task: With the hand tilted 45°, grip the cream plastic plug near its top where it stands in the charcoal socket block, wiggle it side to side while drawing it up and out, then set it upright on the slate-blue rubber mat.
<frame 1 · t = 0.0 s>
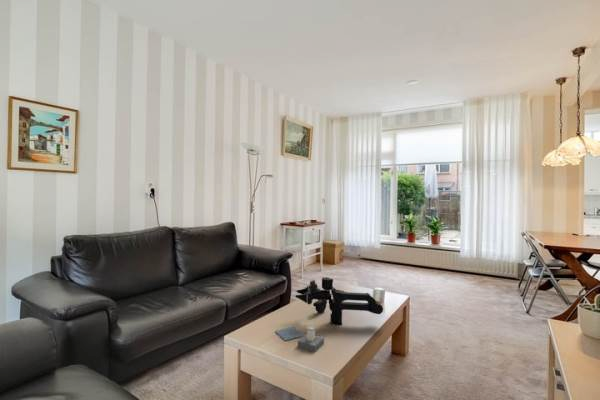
hand: (296, 293, 185), 17 cm above the table, tool horizontal, fingers open, 9 cm apart
socket block: (310, 345, 155), on the table
plug: (311, 336, 154), in the socket block
mat: (289, 334, 166), on the table
controller: (320, 313, 198), on the table
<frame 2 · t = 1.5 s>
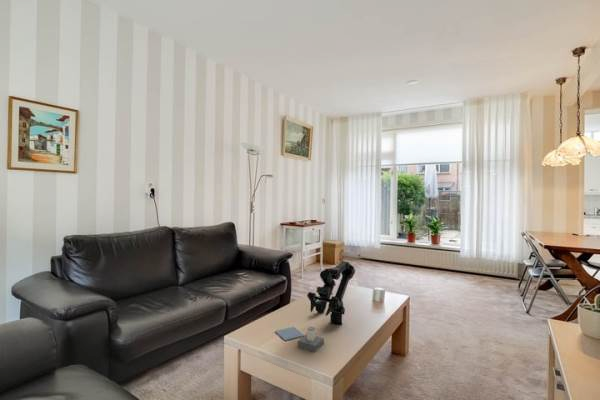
hand: (318, 313, 161), 14 cm above the table, tool tilted 45°, fingers open, 9 cm apart
nothing on the table moved.
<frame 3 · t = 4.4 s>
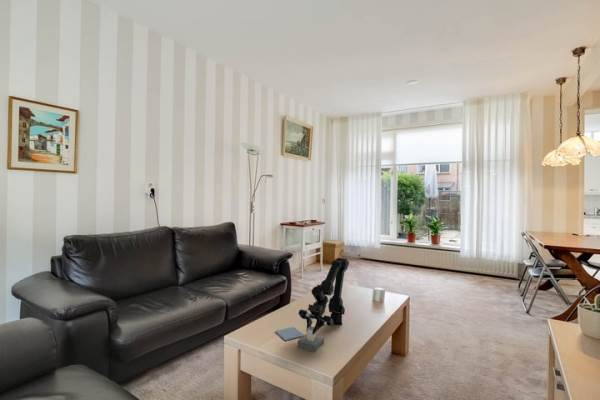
hand: (309, 333, 153), 7 cm above the table, tool tilted 45°, fingers closed on plug, 3 cm apart
plug: (311, 336, 154), in the socket block, touching gripper
everything else where it was.
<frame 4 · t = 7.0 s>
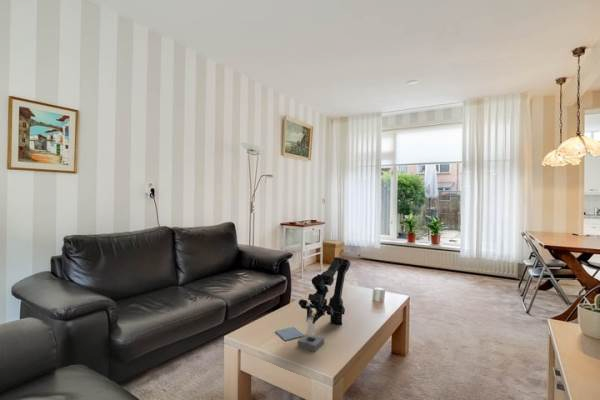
hand: (310, 322, 153), 12 cm above the table, tool tilted 45°, fingers closed on plug, 3 cm apart
plug: (311, 325, 154), point 10 cm above the table, touching gripper
everything else where it was.
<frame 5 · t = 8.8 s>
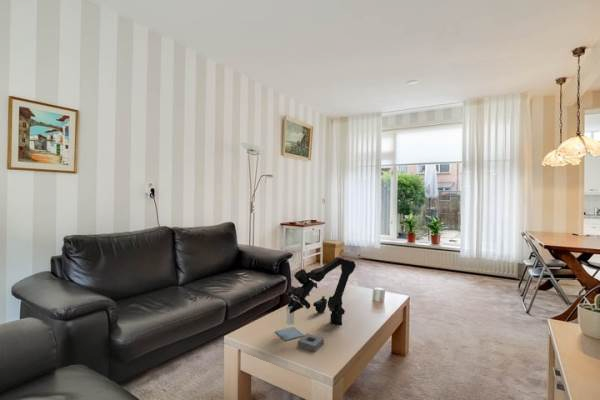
hand: (288, 311, 165), 13 cm above the table, tool tilted 45°, fingers closed on plug, 3 cm apart
plug: (290, 315, 166), point 10 cm above the table, touching gripper
everything else where it was.
when the fingers open (9 cm above the table, at t = 9.9 s): plug drops 1 cm, resting on mat.
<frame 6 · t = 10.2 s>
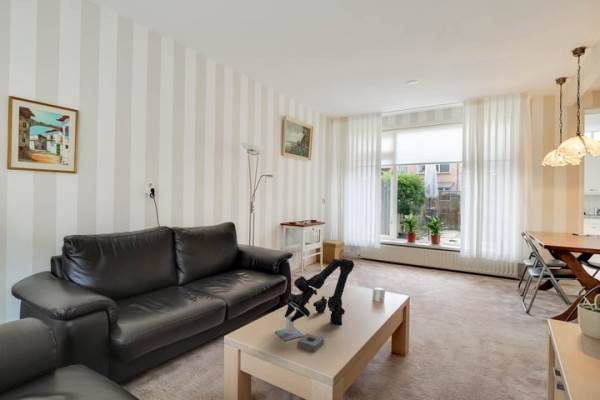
hand: (288, 319, 165), 9 cm above the table, tool tilted 45°, fingers open, 6 cm apart
plug: (290, 324, 166), on the mat, point 5 cm above the table
everything else where it was.
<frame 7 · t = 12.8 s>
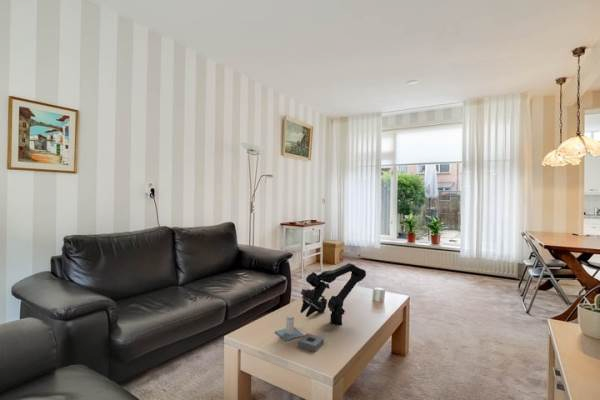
hand: (303, 314, 172), 9 cm above the table, tool tilted 40°, fingers open, 9 cm apart
nothing on the table moved.
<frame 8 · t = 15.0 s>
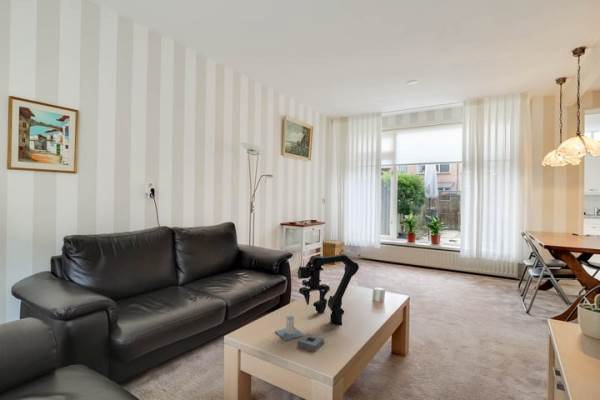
hand: (314, 303, 178), 13 cm above the table, tool pointing down, fingers open, 9 cm apart
nothing on the table moved.
at the end: plug inside the target area on the mat (0.0 cm from its centre), point 5.1 cm above the mat's base; plug tilted 0°; the gripper is holding nothing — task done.
